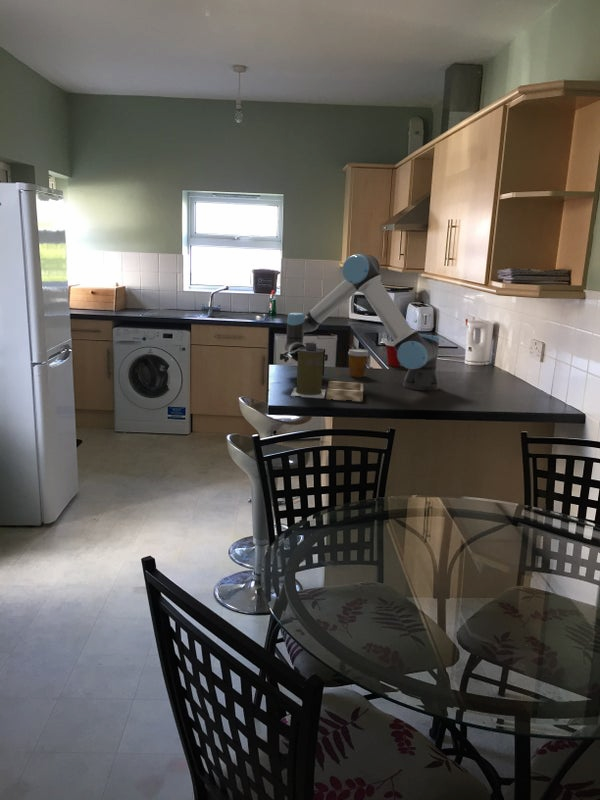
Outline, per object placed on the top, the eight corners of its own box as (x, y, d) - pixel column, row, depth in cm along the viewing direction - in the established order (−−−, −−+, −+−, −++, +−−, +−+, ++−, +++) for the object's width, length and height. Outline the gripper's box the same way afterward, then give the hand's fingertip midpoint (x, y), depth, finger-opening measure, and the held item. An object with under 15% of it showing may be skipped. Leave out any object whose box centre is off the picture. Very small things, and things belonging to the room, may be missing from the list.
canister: (300, 395, 256) (302, 344, 251) (292, 389, 265) (294, 340, 261) (326, 394, 259) (329, 344, 254) (318, 389, 268) (320, 340, 264)
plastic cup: (378, 365, 334) (380, 342, 331) (390, 363, 342) (392, 340, 339) (397, 368, 327) (399, 344, 324) (408, 366, 335) (410, 343, 332)
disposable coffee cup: (366, 378, 298) (368, 352, 295) (345, 376, 299) (347, 351, 297) (367, 374, 307) (369, 349, 304) (347, 373, 308) (349, 348, 306)
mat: (325, 390, 268) (325, 389, 268) (323, 398, 255) (323, 397, 255) (294, 388, 269) (294, 387, 269) (290, 396, 256) (290, 394, 256)
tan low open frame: (362, 392, 268) (363, 383, 267) (362, 401, 253) (363, 391, 252) (328, 390, 269) (328, 381, 268) (326, 399, 254) (326, 389, 253)
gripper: (325, 360, 287) (336, 369, 267) (269, 359, 282) (276, 369, 262) (326, 343, 285) (338, 351, 265) (270, 342, 281) (277, 350, 260)
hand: (307, 360), depth 264 cm, fingers open, 13 cm apart
